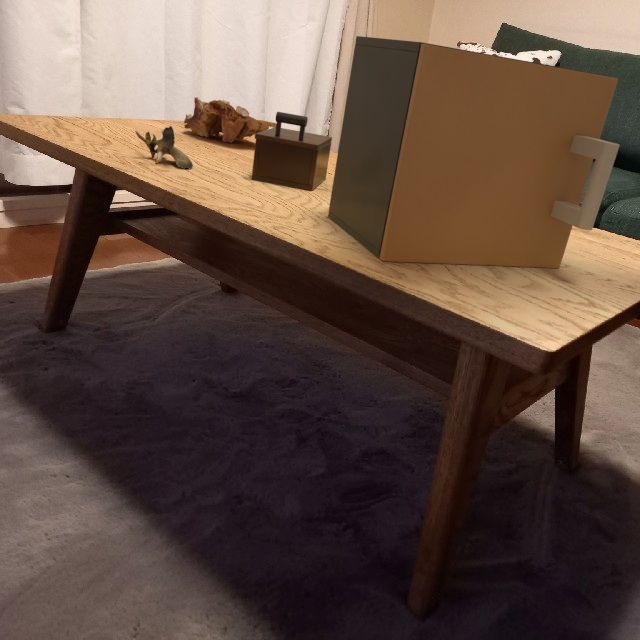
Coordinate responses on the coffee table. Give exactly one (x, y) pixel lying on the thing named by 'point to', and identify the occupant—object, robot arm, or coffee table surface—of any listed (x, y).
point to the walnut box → (290, 164)
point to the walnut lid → (293, 133)
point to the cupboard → (374, 135)
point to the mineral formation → (224, 121)
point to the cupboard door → (497, 161)
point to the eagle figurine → (166, 147)
